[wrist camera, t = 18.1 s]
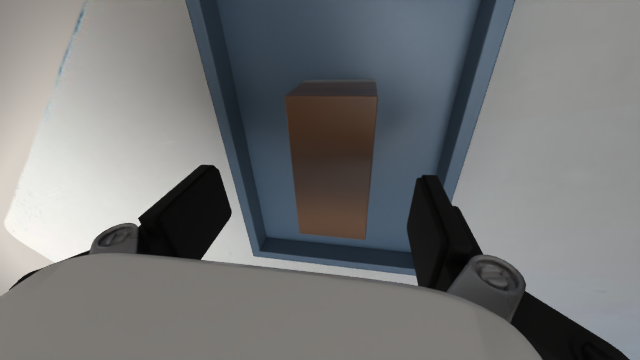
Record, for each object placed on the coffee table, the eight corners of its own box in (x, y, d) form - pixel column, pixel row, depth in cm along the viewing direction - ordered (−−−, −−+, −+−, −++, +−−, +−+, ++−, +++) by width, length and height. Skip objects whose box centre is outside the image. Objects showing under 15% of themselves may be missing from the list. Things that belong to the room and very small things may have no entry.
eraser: (305, 79, 15) (283, 95, 11) (375, 79, 14) (378, 95, 11) (312, 195, 20) (299, 234, 16) (366, 199, 19) (365, 240, 15)
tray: (199, -44, 13) (169, -58, 11) (514, -77, 11) (548, -103, 9) (262, 237, 24) (253, 256, 22) (422, 254, 22) (427, 277, 20)
